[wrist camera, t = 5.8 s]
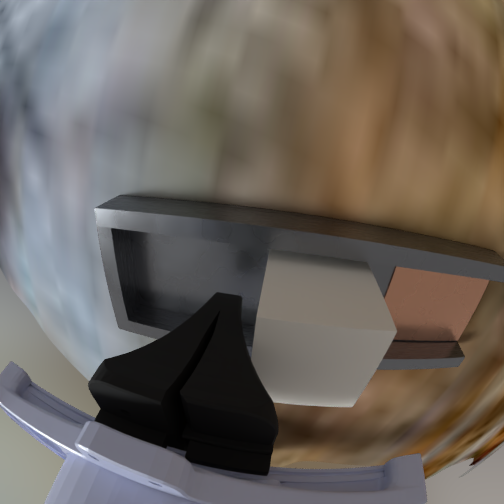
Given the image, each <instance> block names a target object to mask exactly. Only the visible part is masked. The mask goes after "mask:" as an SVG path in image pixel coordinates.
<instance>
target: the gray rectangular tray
mask: <svg viewBox="0 0 504 504" xmlns="http://www.w3.org/2000/svg"><path fill="white" fill-rule="evenodd" d="M95 216H96V224H97V231H98V238H99V244H100V250H101V255H102V261H103V266H104V271H105V276H106V280H107V285H108V289H109V293H110V298H111V302H112V306H113V309H114V313H115V317H116V320H117V324H118V327H119V328H120V329H123V330H126V331H130V332H133V333H137V334H140V335H144V336H148V337H151V338H155V339H159V338H161V337H163V336H165V335H166V334H168V333H169V332H171V331H172V330H174V329H175V328H177V327H178V326H179V325H181V324H182V323H183V322H184V321H186V320H187V319H188V318H190V317H191V316H192V315H193V314H194V313H195V312H196V311H198V310H199V309H200V308H201V307H202V306H203V305H204V304H205V303H206V302H207V301H208V300H209V299H210V298H211V297H212V296H213V295H214V294H215V293H216V292H221V293H227V294H234V295H240V296H241V297H242V298H243V300H242V314H241V321H242V329H243V334H244V338H245V342H246V346H247V349H248V352H249V355H250V358H251V356H252V348H253V340H254V332H255V324H256V316H257V311H258V306H259V301H260V296H261V291H262V286H263V281H264V276H265V271H266V265H267V260H268V255H269V250H270V249H275V250H283V251H290V252H297V253H304V254H312V255H319V256H326V257H333V258H340V259H347V260H354V261H362V262H368V264H369V266H370V269H371V271H372V273H373V275H374V277H375V279H376V282H377V284H378V286H379V288H380V291H381V293H382V295H383V297H384V300H385V302H386V305H387V307H388V309H389V312H390V314H391V317H392V319H393V322H394V324H395V327H396V329H397V333H396V335H395V337H394V339H393V341H392V342H391V344H390V346H389V348H388V350H387V352H386V354H385V355H384V357H383V359H382V361H381V362H380V364H379V366H378V368H377V369H380V370H402V369H432V368H448V367H458V366H459V365H460V364H461V362H462V361H463V359H464V358H465V356H464V354H463V352H462V350H461V348H460V346H459V344H458V342H457V341H458V339H459V338H460V336H461V334H462V333H463V331H464V329H465V327H466V326H467V324H468V322H469V320H470V319H471V317H472V315H473V313H474V311H475V309H476V307H477V305H478V304H479V302H480V300H481V298H482V295H483V293H484V291H485V289H486V287H487V285H488V283H489V280H491V281H498V282H504V259H503V258H502V257H500V256H499V255H498V254H497V253H496V252H495V251H492V250H488V249H484V248H480V247H476V246H472V245H467V244H463V243H459V242H454V241H450V240H445V239H441V238H436V237H431V236H426V235H422V234H417V233H412V232H407V231H401V230H396V229H391V228H385V227H380V226H374V225H369V224H363V223H357V222H351V221H345V220H339V219H333V218H326V217H320V216H313V215H306V214H299V213H292V212H285V211H277V210H269V209H261V208H253V207H245V206H236V205H227V204H218V203H208V202H198V201H187V200H176V199H163V198H150V197H136V196H120V195H119V196H117V197H115V198H113V199H111V200H109V201H107V202H105V203H103V204H102V205H100V206H98V207H96V208H95Z"/></svg>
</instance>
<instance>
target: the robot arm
mask: <svg viewBox="0 0 504 504" xmlns="http://www.w3.org/2000/svg"><path fill="white" fill-rule="evenodd" d="M242 300H243V298H242V297H241V296H240V295H234V294H227V293H221V292H216V293H215V294H214V295H213V296H212V297H211V298H210V299H209V300H208V301H207V302H206V303H205V304H204V305H203V306H202V307H201V308H200V309H199V310H198V311H196V312H195V313H194V314H193V315H192V316H191V317H190V318H188V319H187V320H186V321H184V322H183V323H182V324H181V325H179V326H178V327H177V328H175V329H174V330H172V331H171V332H169V333H168V334H166V335H165V336H163V337H161V338H159V339H158V340H156V341H154V342H152V343H150V344H148V345H146V346H144V347H141V348H139V349H136V350H134V351H131V352H128V353H126V354H122V355H119V356H115V357H112V358H108V359H105V360H104V361H103V362H102V363H101V365H100V366H99V367H98V369H97V370H96V372H95V374H94V375H93V377H92V378H91V380H90V381H89V383H88V387H89V390H90V392H91V394H92V396H93V397H94V399H95V400H96V402H97V403H98V405H99V407H100V408H101V409H100V411H99V413H98V415H97V416H96V418H95V417H92V416H90V415H88V414H86V413H84V412H82V411H80V410H79V409H77V408H75V407H73V406H71V405H69V404H68V403H66V402H64V401H62V400H60V399H59V398H57V397H55V396H54V395H52V394H50V393H49V392H47V391H46V390H44V389H43V388H41V387H39V386H38V385H36V384H35V383H33V382H32V381H31V379H30V377H29V376H28V374H27V373H26V372H25V371H24V370H23V369H22V368H20V367H19V366H18V365H16V364H15V363H14V362H12V361H11V362H10V363H9V364H8V365H7V366H6V368H5V369H4V370H3V371H2V373H1V374H0V407H1V408H2V409H3V410H4V411H5V413H6V414H7V415H8V416H9V417H10V418H11V419H12V420H13V421H15V422H16V423H17V424H18V425H20V427H22V428H23V429H24V430H25V431H26V432H28V433H29V434H30V435H32V436H33V437H34V438H35V439H37V440H38V441H39V442H40V443H42V444H43V445H45V446H46V447H47V448H49V449H50V450H51V451H53V452H54V453H56V454H57V455H58V456H60V457H61V458H63V459H64V460H65V462H64V463H63V465H62V467H61V469H60V471H59V473H58V475H57V477H56V479H55V481H54V483H53V485H52V488H51V490H50V492H49V494H48V496H47V498H46V500H45V503H44V504H425V503H426V502H427V495H426V486H425V478H424V471H423V465H422V459H421V454H420V453H417V454H412V455H406V456H400V457H396V458H393V459H391V460H389V461H388V462H387V463H386V464H385V465H380V466H371V467H360V468H344V469H296V468H281V467H270V462H271V455H272V452H273V444H274V442H275V439H276V437H277V434H278V420H277V415H276V411H275V407H274V404H273V400H272V399H271V397H270V396H269V394H268V392H267V391H266V389H265V388H264V386H263V384H262V382H261V380H260V378H259V376H258V374H257V372H256V370H255V368H254V366H253V363H252V361H251V358H250V355H249V352H248V349H247V346H246V342H245V338H244V334H243V329H242V321H241V314H242Z"/></svg>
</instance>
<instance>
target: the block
mask: <svg viewBox="0 0 504 504" xmlns="http://www.w3.org/2000/svg"><path fill="white" fill-rule="evenodd" d="M396 333H397V329H396V327H395V324H394V322H393V319H392V317H391V314H390V312H389V309H388V307H387V305H386V302H385V300H384V297H383V295H382V293H381V291H380V288H379V286H378V284H377V282H376V279H375V277H374V275H373V273H372V271H371V269H370V266H369V264H368V262H362V261H354V260H347V259H340V258H333V257H326V256H319V255H312V254H304V253H297V252H290V251H283V250H275V249H270V250H269V255H268V260H267V265H266V271H265V276H264V281H263V286H262V291H261V296H260V301H259V306H258V311H257V316H256V324H255V332H254V340H253V348H252V356H251V361H252V363H253V366H254V368H255V370H256V372H257V374H258V376H259V378H260V380H261V382H262V384H263V386H264V388H265V389H266V391H267V392H268V394H269V396H270V397H271V399H272V400H273V402H277V403H286V404H297V405H310V406H328V407H353V405H354V404H355V402H356V401H357V399H358V398H359V396H360V395H361V393H362V392H363V390H364V389H365V387H366V386H367V384H368V382H369V381H370V379H371V378H372V376H373V374H374V373H375V371H376V369H377V368H378V366H379V364H380V362H381V361H382V359H383V357H384V355H385V354H386V352H387V350H388V348H389V346H390V344H391V342H392V341H393V339H394V337H395V335H396Z"/></svg>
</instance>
